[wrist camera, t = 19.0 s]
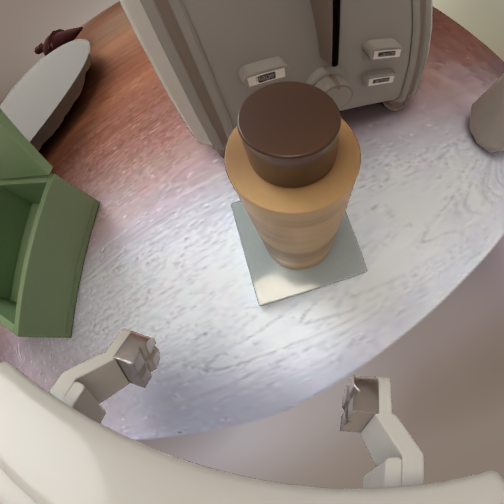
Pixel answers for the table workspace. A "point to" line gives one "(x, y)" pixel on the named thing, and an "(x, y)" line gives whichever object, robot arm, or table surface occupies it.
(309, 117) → the pepper mill
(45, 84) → the flat disc
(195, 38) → the toaster
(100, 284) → the table surface
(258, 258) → the tile
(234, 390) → the table surface
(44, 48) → the gnome figurine
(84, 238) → the green box
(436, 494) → the robot arm
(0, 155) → the box lid
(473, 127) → the salt shaker
